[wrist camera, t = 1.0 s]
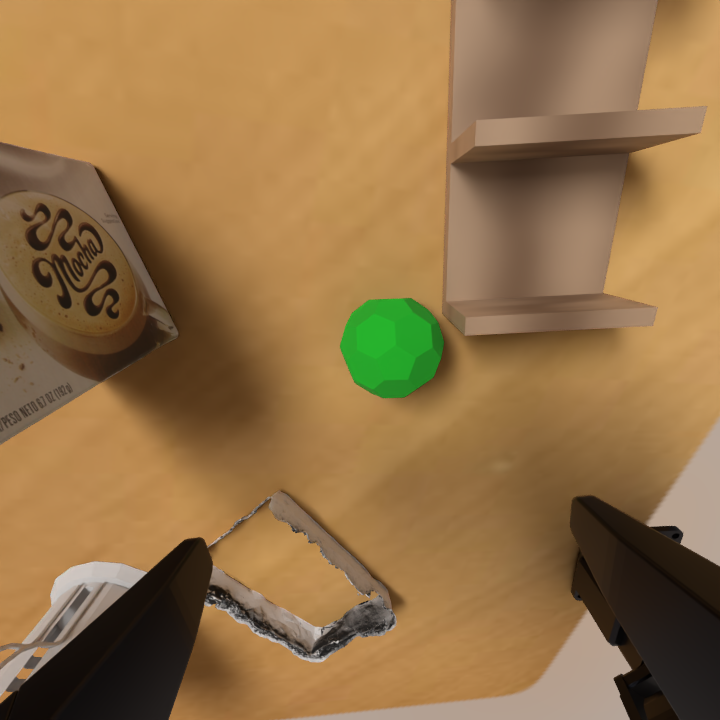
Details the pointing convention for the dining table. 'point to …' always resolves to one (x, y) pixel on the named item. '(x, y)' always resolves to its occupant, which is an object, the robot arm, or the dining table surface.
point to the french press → (68, 615)
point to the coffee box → (66, 288)
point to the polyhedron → (392, 346)
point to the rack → (544, 160)
